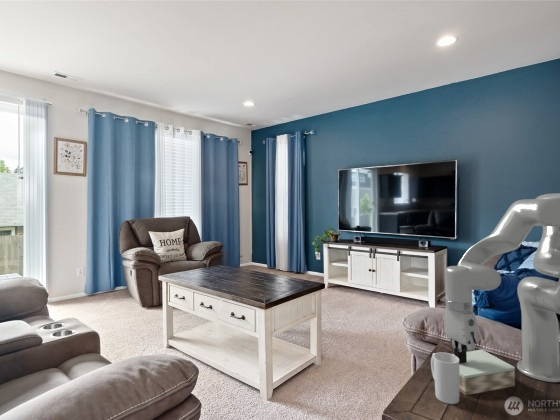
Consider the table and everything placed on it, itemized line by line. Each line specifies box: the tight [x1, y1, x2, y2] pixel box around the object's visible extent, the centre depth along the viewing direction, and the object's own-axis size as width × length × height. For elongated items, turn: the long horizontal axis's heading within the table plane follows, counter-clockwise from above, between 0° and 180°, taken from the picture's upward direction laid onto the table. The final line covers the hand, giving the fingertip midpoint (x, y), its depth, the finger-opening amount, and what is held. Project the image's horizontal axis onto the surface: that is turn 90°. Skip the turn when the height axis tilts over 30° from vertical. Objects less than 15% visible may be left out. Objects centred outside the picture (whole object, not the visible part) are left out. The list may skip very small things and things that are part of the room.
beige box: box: [459, 370, 516, 396], centre depth 104 cm, size 18×13×5 cm
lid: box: [452, 349, 516, 379], centre depth 104 cm, size 18×12×1 cm
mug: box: [430, 351, 460, 405], centre depth 97 cm, size 10×7×12 cm, turn 12°
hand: (460, 361), depth 104 cm, fingers closed
